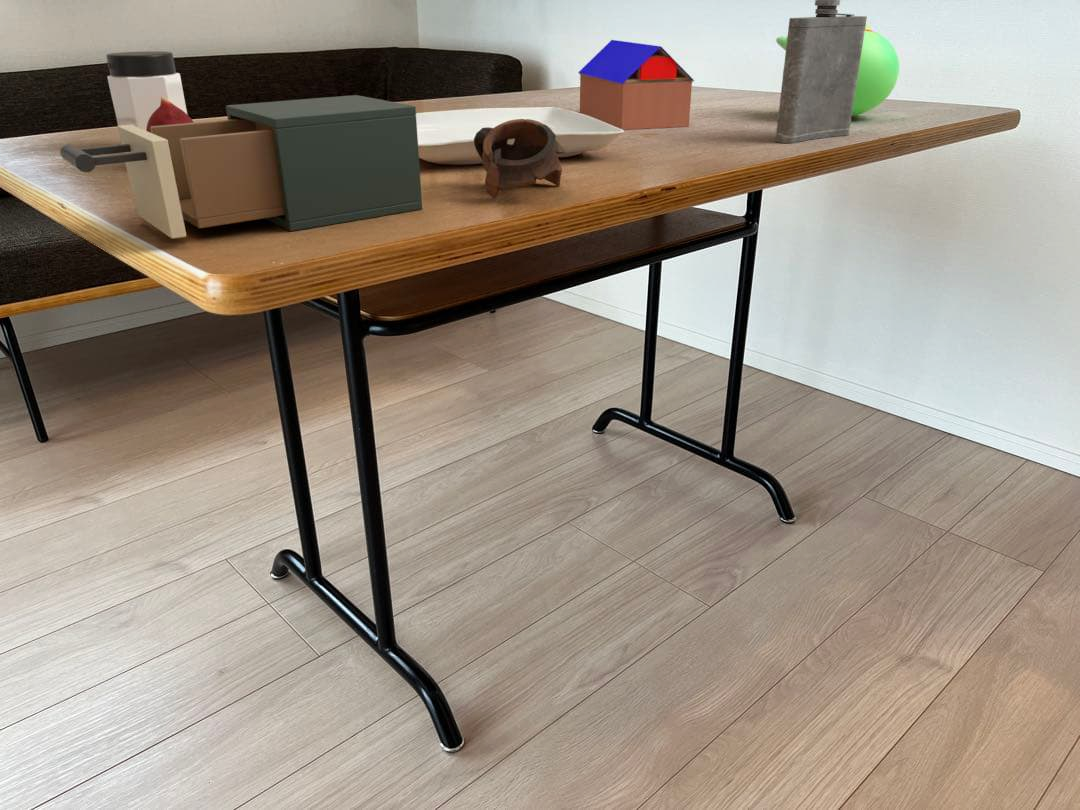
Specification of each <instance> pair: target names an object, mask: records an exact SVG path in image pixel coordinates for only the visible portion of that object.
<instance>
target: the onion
mask: <svg viewBox="0 0 1080 810" xmlns="http://www.w3.org/2000/svg"><path fill="white" fill-rule="evenodd" d="M184 123H195V122H194V120H193V119H192V118H191V117H190V116H189V114H188V113H187V114H186V113H185V112H184V111H183V110H181V109H180V108H178V107H176V106H175V105H174V104H172V103H171V102H169V101H168V99H167V98H165V97H161V104H160V107H159V108H158V109H156V110H155V111H154V112H153V114H152V115H151V117H150V118H149V121H148V124H147V129H146V131H147V132H150V133H151V130H150V127H151V126H161V125H173V124H184Z"/></svg>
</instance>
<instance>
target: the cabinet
mask: <svg viewBox="0 0 1080 810" xmlns="http://www.w3.org/2000/svg"><path fill="white" fill-rule="evenodd" d="M416 108H417V107H416V106H415V105H412V104H411V105H410V104H407V103H401V102H396V101H391V100H385V99H379V98H375V97H374V98H373V97H370V96H368V97H367V96H362V95H359V94H354V95H342V96H328V97H315V98H314V97H313V98H303V99H302V98H301V99H289V100H277V101H276V100H275V101H264V102H251V103H241V104H240V103H239V104H228V105H225V110H226V114H227V115H226V117H227V120H229V119H240V118H242V119H245V120H249V121H252V122H256V123H259V124H262V125H266V126H269V127H273V133H274V140H275V147H276V154H277V161H278V168H279V175H280V182H281V189H282V196H283V203H284V210H285V215H282V216H276V217H270V218H264V219H265V220H267V221H269V222H270V223H273V224H275V225H277V226H279V227H281V228H283V229H285V230H287V231H289V232H296V231H302V230H308V229H313V228H319V227H325V226H326V227H327V226H331V225H337V224H342V223H349V222H355V221H361V220H366V219H372V218H379V217H383V216H389V215H395V214H402V213H408V212H415V211H419V210H423V197H422V183H421V167H420V158H419V152H418V137H417V122H416V113H417V109H416Z"/></svg>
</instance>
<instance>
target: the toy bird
mask: <svg viewBox="0 0 1080 810" xmlns="http://www.w3.org/2000/svg"><path fill="white" fill-rule="evenodd" d="M787 37H788V36H784V35H783V36H782V35H781V36H778V37H776V38H775V42H776V43H777V45H778V46H779V47H780V48H782V49H783V50H784V51H785V52H786V46H787ZM783 71H784V69H783ZM783 71H782V72H783ZM899 74H900V61H899V57H898V54H897V52H896V49H895V47H894V46H893V44H892V43H891V42H890V40H888V39H887V38H886V37H885V36H884V35H882V34H880V33H879V32H877V31H874V30H871V26H870V25H868V24H866V26H865V32H864V39H863V45H862V52H861V58H860V65H859V72H858V78H857V85H856V91H855V98H854V104H853V111H852V117H855V116H859V115H861V114H865V113H867V112H869V111H871V110H873V109H875V108H876V107H878V106H880V105H881V104H882V103H884V101H885V100H886V99H887V98H888V97H889V96H890V95H891V93H892V92H893V90H894V88H895V86H896V84H897V81H898V78H899Z"/></svg>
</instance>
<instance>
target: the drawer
mask: <svg viewBox="0 0 1080 810" xmlns="http://www.w3.org/2000/svg"><path fill="white" fill-rule="evenodd" d="M116 127H117V132H118V136H119V140H120V144H113V145H102V146H101V145H100V146H93V147H82V148H78V147H77V146H75V145H74V144H71V143H68V144H67V143H66V144H64V145H63V146H62V147H61V148H60V151H59V152H60V153H59V154H60V156H61V158H62V159H63V160H65V161H66V162H67V163H69V164H70V165H72V166H73V167H75V168H76V169H77V170H79V171H80V172H83V173H90V172H92V171H94V169H95V168H96V166H104V165H113V164H114V165H115V164H122V163H123V164H124V163H125V167H126V172H127V176H128V177H127V178H128V181H129V185H130V190H131V194H132V198H133V203H134V208H135V212H136V215H137V216H139V217H140V218H142V219H143V220H144V221H146V222H147V223H149V224H150V225H151V226H153V227H154V228H155V229H157V230H159V231H160V232H161V233H163V234H164V235H166V236H167V237H169V238H170V239H173V240H174V239H179V238H180V239H181V238H186V237H187V232H186V227H185V222H184V220H185V221H186V222H188V223H190V224H192V225H193V226H195V227H196V228H197V229H205V228H211V227H219V226H224V225H232V224H238V223H243V222H249V221H256V220H262V219H265V218H270V217H276V216H282V215H285V210H284V203H283V196H282V189H281V182H280V175H279V168H278V161H277V154H276V147H275V140H274V133H273V127H269V126H266V125H262V124H259V123H256V122H252V121H249V120H245V119H242V118H240V119H229V120H228V119H219V120H218V119H217V120H209V121H208V120H207V121H196V122H194V123H184V124H173V125H161V126H151V127H150V130H151V133H150V132H147V131H145V130H143V129H140V128H138V127H136V126H133V125H121V126H118V125H117V126H116Z"/></svg>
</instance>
